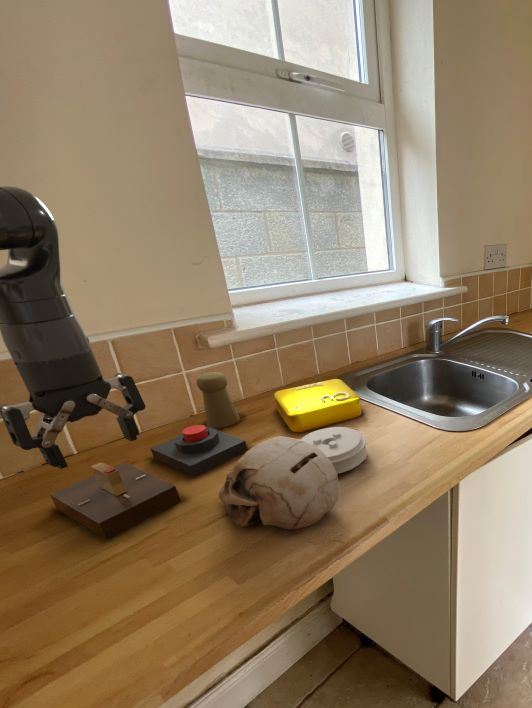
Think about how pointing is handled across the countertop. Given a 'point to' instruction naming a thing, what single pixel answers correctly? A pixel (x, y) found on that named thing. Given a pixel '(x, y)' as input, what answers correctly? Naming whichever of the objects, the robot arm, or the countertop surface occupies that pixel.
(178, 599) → the countertop surface
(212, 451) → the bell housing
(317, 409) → the element tile
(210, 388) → the cork
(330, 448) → the lid
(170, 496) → the plate
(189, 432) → the bell button
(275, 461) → the coin bank
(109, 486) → the lock knob
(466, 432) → the countertop surface
